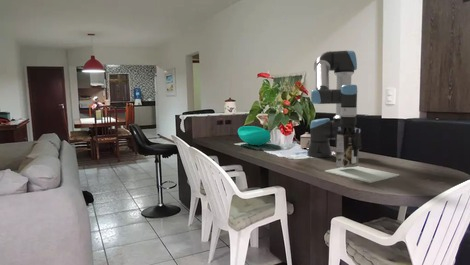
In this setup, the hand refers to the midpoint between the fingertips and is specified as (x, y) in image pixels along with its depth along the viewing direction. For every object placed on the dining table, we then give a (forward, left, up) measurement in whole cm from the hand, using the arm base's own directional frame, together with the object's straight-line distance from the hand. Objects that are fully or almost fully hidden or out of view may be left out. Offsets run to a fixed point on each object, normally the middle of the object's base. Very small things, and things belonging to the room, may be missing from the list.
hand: (347, 161), depth 166 cm
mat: (+8, 0, -5) cm, 9 cm away
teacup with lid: (-63, +36, -5) cm, 73 cm away
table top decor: (-98, +16, -5) cm, 99 cm away
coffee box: (0, 0, -2) cm, 2 cm away
